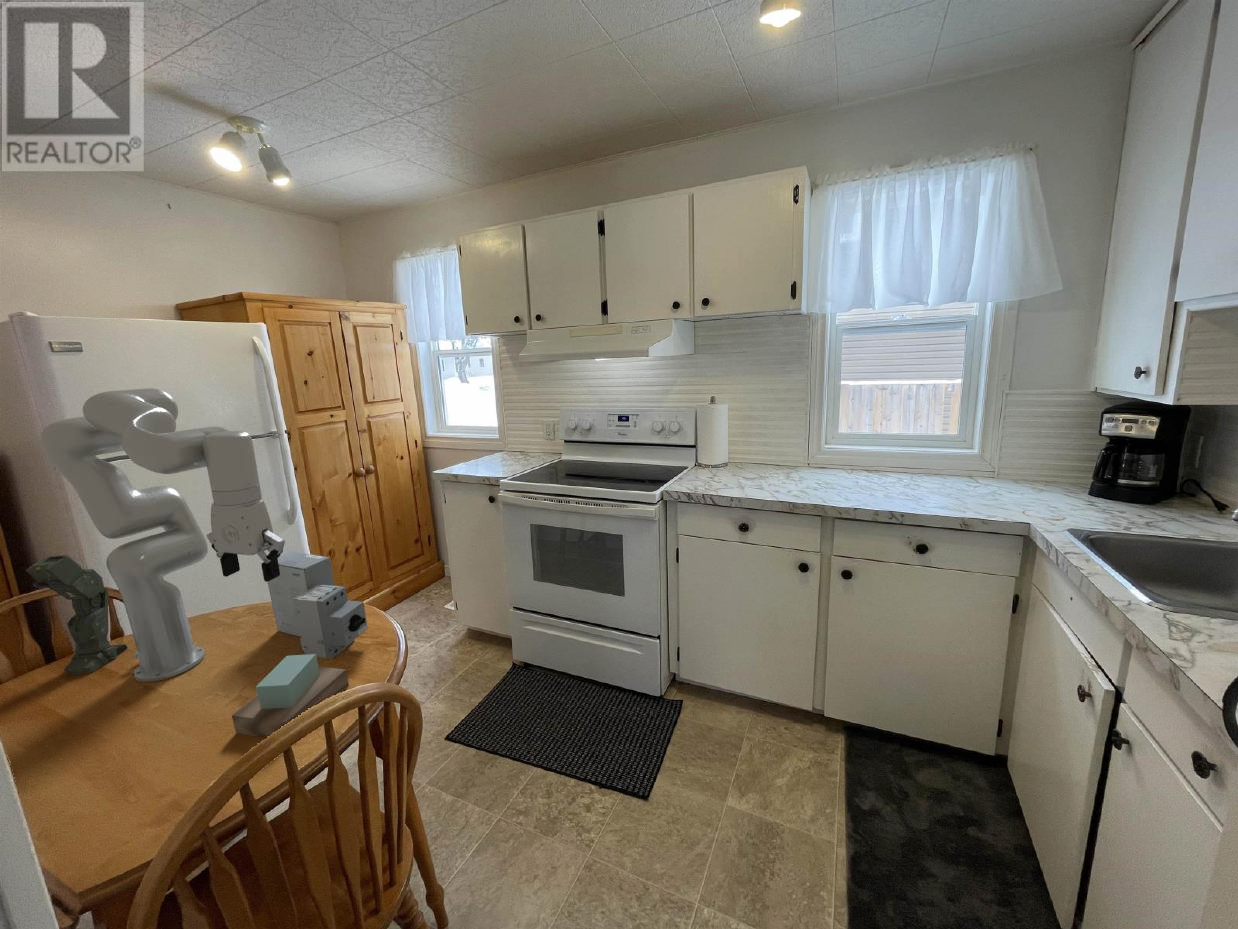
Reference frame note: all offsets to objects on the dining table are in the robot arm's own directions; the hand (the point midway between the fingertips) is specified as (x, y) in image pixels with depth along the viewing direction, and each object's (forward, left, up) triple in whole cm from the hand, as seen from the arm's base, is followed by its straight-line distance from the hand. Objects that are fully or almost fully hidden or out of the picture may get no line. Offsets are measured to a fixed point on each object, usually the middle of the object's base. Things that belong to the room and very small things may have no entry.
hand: (252, 576), depth 102 cm
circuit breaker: (+2, +17, -28) cm, 33 cm away
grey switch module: (-13, +24, -28) cm, 39 cm away
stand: (+8, -3, -28) cm, 29 cm away
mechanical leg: (-54, +3, -28) cm, 61 cm away
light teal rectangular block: (+7, -3, -24) cm, 25 cm away
